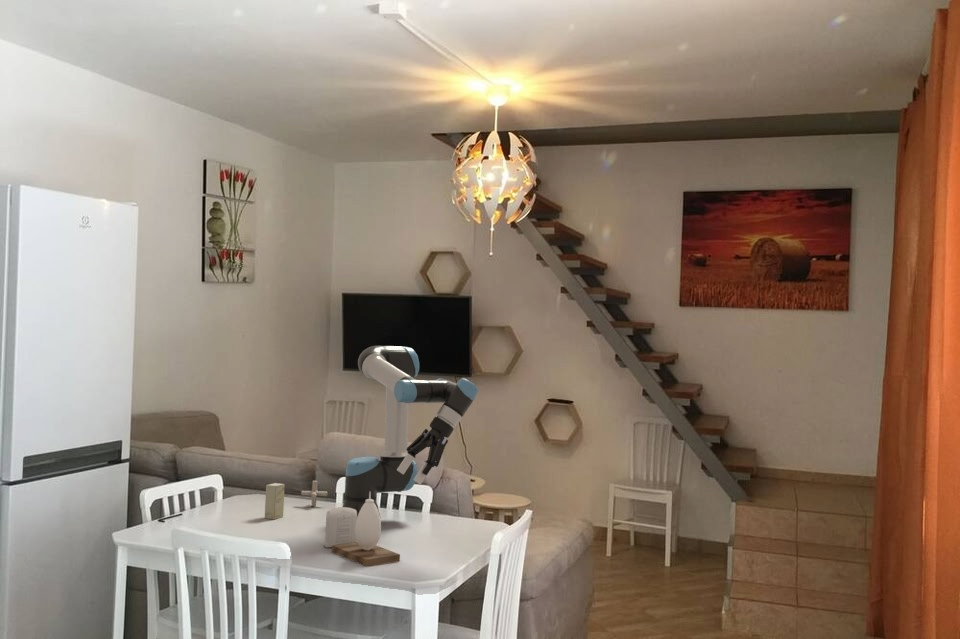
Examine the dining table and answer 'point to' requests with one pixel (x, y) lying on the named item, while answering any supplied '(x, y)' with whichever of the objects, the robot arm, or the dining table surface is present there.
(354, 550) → the walnut board
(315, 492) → the pipe connector
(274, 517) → the skincare box
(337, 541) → the beige engraved tablet
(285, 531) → the dining table surface
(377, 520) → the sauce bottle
